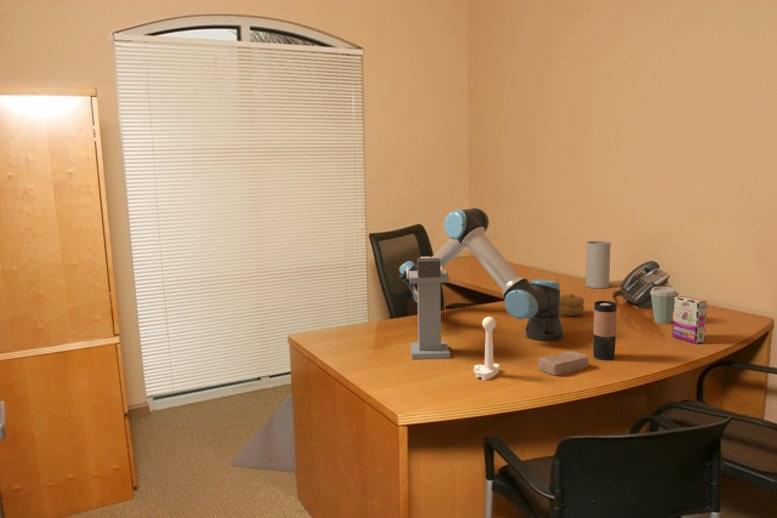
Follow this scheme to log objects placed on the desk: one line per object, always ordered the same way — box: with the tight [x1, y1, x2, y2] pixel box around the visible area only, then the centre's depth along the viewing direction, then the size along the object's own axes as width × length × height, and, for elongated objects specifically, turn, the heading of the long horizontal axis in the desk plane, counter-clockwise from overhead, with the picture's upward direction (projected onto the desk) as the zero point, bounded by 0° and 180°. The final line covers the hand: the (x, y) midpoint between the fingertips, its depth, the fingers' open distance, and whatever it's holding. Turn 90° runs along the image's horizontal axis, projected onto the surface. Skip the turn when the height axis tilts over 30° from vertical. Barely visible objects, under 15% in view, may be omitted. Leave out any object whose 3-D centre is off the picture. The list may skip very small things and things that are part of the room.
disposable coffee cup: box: [649, 285, 678, 325], centre depth 254 cm, size 11×11×15 cm
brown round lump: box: [559, 293, 585, 317], centre depth 271 cm, size 12×12×10 cm
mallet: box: [416, 256, 441, 278], centre depth 223 cm, size 23×8×6 cm, turn 0°
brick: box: [537, 350, 590, 376], centre depth 202 cm, size 17×8×5 cm, turn 120°
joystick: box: [473, 316, 500, 381], centre depth 197 cm, size 11×8×20 cm
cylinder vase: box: [585, 240, 612, 290], centre depth 329 cm, size 12×12×25 cm
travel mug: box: [592, 300, 618, 361], centre depth 211 cm, size 8×8×20 cm
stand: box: [409, 269, 451, 360], centre depth 221 cm, size 16×14×30 cm
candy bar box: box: [671, 295, 708, 345], centre depth 229 cm, size 11×5×16 cm, turn 23°
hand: (424, 269), depth 238 cm, fingers open, 13 cm apart
